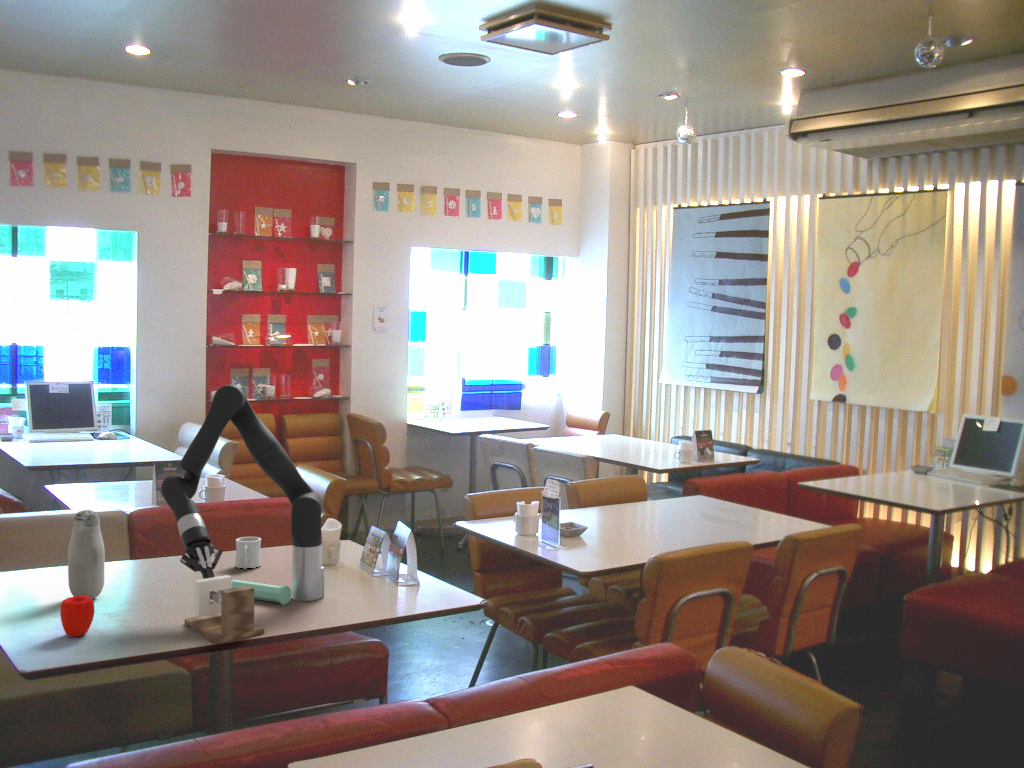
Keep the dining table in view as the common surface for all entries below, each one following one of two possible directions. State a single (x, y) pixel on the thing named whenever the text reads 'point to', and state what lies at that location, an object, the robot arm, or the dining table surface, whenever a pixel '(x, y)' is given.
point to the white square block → (203, 594)
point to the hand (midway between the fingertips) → (210, 580)
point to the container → (266, 591)
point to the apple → (77, 614)
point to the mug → (248, 552)
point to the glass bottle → (86, 556)
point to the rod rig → (229, 616)
